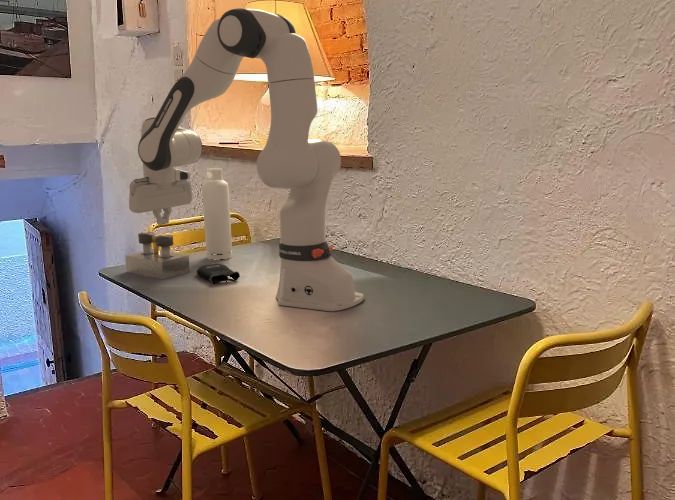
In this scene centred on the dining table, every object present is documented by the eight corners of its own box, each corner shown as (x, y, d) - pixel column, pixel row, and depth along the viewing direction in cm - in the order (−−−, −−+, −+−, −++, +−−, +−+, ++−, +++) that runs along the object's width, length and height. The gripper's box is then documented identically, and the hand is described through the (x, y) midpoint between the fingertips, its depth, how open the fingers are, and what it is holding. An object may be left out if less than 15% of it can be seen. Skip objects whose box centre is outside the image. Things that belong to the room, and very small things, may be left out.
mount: (190, 271, 201) (188, 255, 200) (163, 279, 193) (161, 262, 192) (153, 265, 210) (152, 249, 209) (126, 272, 202) (125, 255, 201)
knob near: (178, 259, 199) (176, 234, 197) (165, 262, 195) (163, 237, 194) (167, 257, 202) (165, 233, 200) (154, 261, 198) (152, 236, 196)
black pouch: (243, 285, 192) (223, 267, 204) (240, 267, 189) (220, 250, 201) (211, 295, 188) (193, 276, 200) (209, 277, 185) (190, 259, 197)
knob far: (159, 256, 204) (157, 232, 202) (147, 259, 200) (145, 234, 198) (149, 254, 206) (147, 230, 205) (136, 257, 203) (134, 233, 201)
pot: (162, 254, 201) (161, 236, 200) (156, 255, 199) (155, 237, 198) (157, 253, 202) (155, 235, 201) (151, 254, 200) (149, 236, 199)
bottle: (201, 257, 219) (195, 169, 213) (223, 253, 224) (218, 166, 218) (215, 261, 213) (210, 170, 207) (237, 257, 219) (232, 168, 212)
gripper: (137, 180, 183) (140, 231, 186) (194, 172, 199) (197, 219, 203) (121, 178, 187) (125, 228, 190) (179, 171, 203) (182, 217, 206)
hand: (163, 224), depth 196 cm, fingers closed
